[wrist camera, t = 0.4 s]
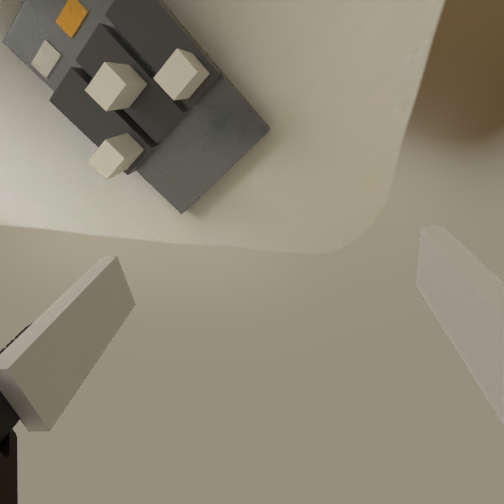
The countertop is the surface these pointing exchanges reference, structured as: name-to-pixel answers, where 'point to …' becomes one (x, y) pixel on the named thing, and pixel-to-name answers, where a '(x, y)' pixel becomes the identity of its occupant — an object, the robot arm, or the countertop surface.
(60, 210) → the countertop surface
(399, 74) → the countertop surface
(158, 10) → the breaker housings
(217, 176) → the panel
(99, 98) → the handle
